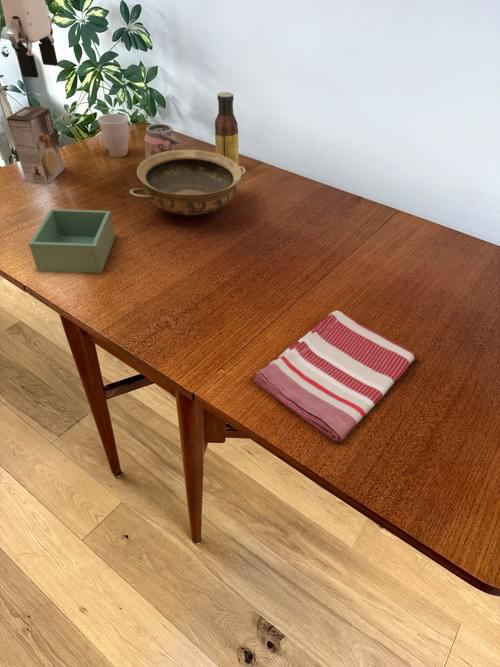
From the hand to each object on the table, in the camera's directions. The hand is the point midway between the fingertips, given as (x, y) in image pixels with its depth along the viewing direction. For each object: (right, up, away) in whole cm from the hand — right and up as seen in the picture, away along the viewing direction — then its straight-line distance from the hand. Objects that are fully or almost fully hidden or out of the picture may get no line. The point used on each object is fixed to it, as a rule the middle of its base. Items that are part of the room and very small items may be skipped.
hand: (41, 70), depth 99 cm
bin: (+9, -40, -2) cm, 41 cm away
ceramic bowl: (+31, -26, +14) cm, 43 cm away
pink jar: (+21, -12, +29) cm, 38 cm away
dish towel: (+59, -63, -23) cm, 89 cm away
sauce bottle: (+38, -11, +31) cm, 51 cm away
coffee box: (-10, -15, +24) cm, 30 cm away
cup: (+6, -4, +36) cm, 37 cm away
